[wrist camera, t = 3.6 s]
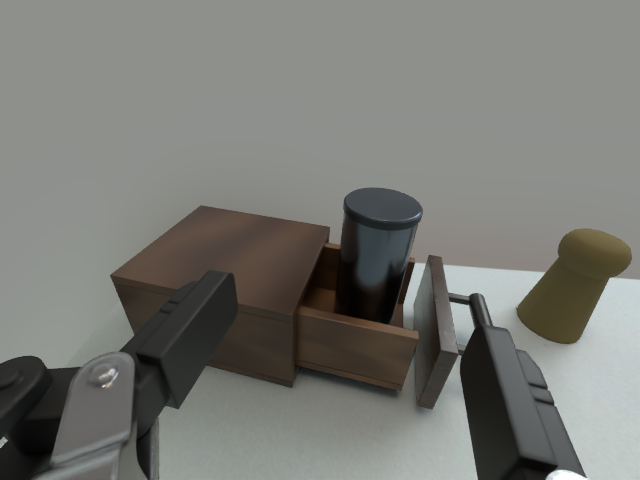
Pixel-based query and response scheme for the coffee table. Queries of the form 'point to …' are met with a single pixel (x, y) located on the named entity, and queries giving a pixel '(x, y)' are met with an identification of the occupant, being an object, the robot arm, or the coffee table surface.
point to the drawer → (383, 332)
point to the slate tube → (374, 252)
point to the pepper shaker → (573, 284)
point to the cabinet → (250, 279)
